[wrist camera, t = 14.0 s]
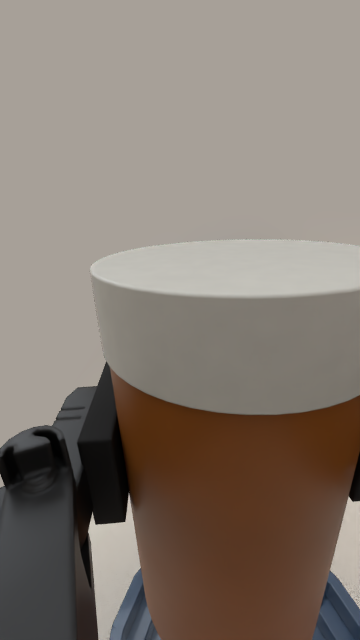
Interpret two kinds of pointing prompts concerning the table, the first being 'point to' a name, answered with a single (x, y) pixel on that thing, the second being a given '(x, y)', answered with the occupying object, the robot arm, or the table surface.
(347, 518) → the table surface
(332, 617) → the bowl
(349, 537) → the table surface
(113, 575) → the table surface
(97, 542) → the table surface
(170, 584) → the vitamin bottle
